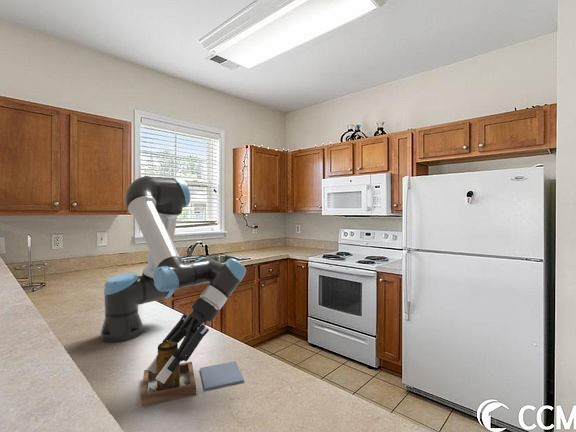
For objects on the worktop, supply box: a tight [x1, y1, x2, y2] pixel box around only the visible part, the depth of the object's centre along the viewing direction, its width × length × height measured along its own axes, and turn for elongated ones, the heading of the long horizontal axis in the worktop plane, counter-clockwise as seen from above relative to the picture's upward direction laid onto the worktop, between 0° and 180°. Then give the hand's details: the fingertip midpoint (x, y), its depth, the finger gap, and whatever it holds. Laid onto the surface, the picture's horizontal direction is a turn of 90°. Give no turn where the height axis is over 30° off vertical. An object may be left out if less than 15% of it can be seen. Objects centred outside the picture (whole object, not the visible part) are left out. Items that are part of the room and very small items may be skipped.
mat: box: [199, 361, 245, 391], centre depth 94 cm, size 12×11×1 cm
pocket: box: [140, 361, 197, 408], centre depth 88 cm, size 14×13×2 cm
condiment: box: [150, 340, 187, 392], centre depth 87 cm, size 7×8×12 cm
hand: (155, 375), depth 86 cm, fingers closed on condiment, 6 cm apart
